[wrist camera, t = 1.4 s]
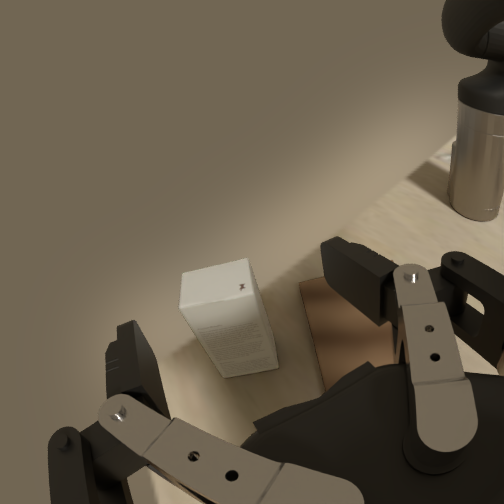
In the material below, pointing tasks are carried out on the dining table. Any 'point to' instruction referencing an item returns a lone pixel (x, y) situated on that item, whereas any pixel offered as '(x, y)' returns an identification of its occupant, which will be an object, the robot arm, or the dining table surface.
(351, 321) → the walnut board
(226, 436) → the dining table surface
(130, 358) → the robot arm
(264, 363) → the skincare box
